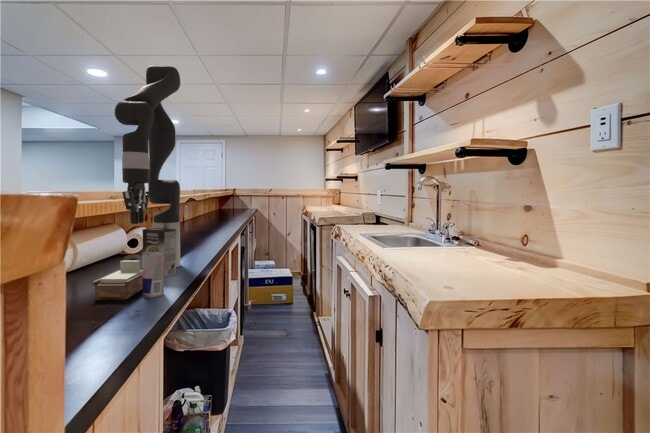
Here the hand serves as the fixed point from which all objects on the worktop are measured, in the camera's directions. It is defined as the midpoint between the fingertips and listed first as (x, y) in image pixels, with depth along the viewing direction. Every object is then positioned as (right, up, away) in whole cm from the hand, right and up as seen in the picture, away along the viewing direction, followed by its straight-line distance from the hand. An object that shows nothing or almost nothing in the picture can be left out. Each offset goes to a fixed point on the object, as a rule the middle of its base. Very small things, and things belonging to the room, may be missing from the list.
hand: (137, 223), depth 113 cm
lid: (+1, -16, -9) cm, 18 cm away
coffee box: (+1, -18, +13) cm, 23 cm away
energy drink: (+10, -20, -11) cm, 25 cm away
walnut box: (+1, -20, -9) cm, 22 cm away
